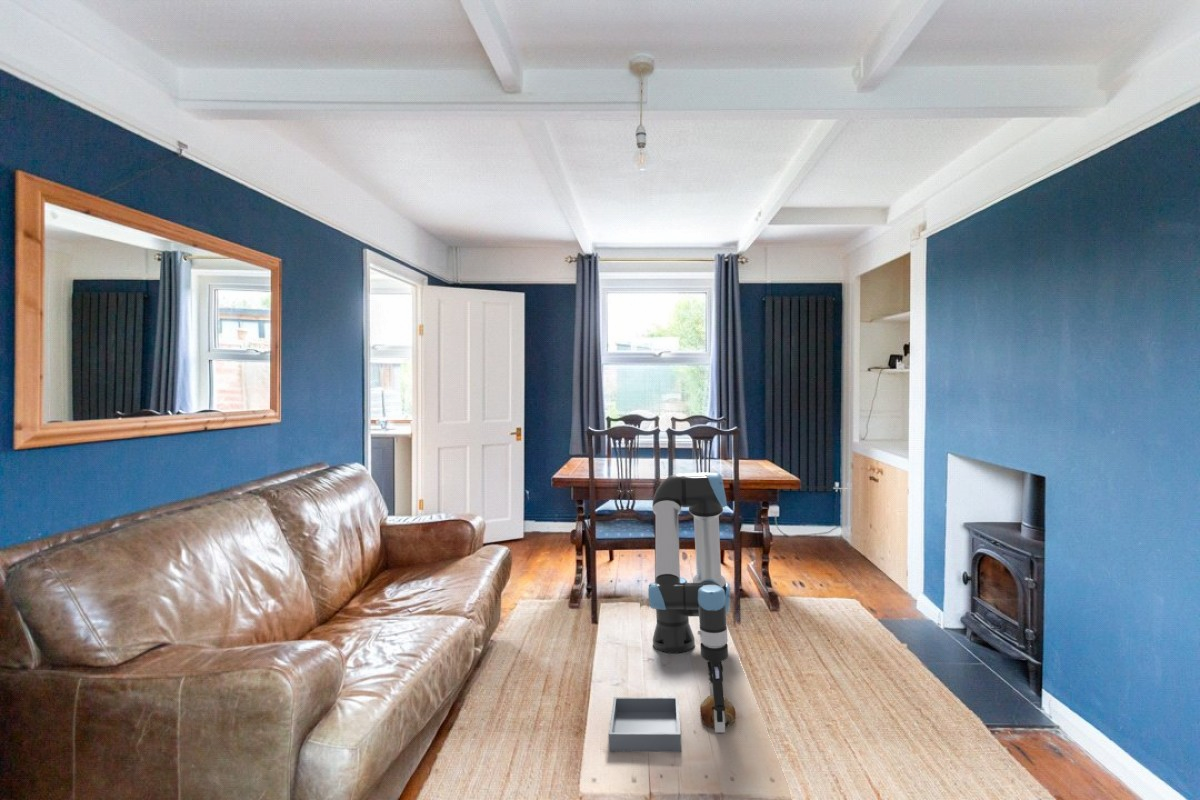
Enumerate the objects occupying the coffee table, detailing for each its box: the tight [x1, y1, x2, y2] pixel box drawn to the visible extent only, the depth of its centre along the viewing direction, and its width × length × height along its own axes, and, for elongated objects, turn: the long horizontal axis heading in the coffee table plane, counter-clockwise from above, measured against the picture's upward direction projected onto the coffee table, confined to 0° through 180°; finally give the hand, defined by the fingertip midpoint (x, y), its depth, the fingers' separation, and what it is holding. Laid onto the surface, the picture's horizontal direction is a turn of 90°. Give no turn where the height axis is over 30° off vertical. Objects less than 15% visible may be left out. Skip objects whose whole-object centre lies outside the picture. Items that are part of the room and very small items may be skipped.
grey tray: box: [608, 696, 682, 753], centre depth 164 cm, size 19×19×4 cm
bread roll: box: [699, 695, 737, 729], centre depth 168 cm, size 10×10×8 cm
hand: (717, 717), depth 168 cm, fingers open, 13 cm apart
